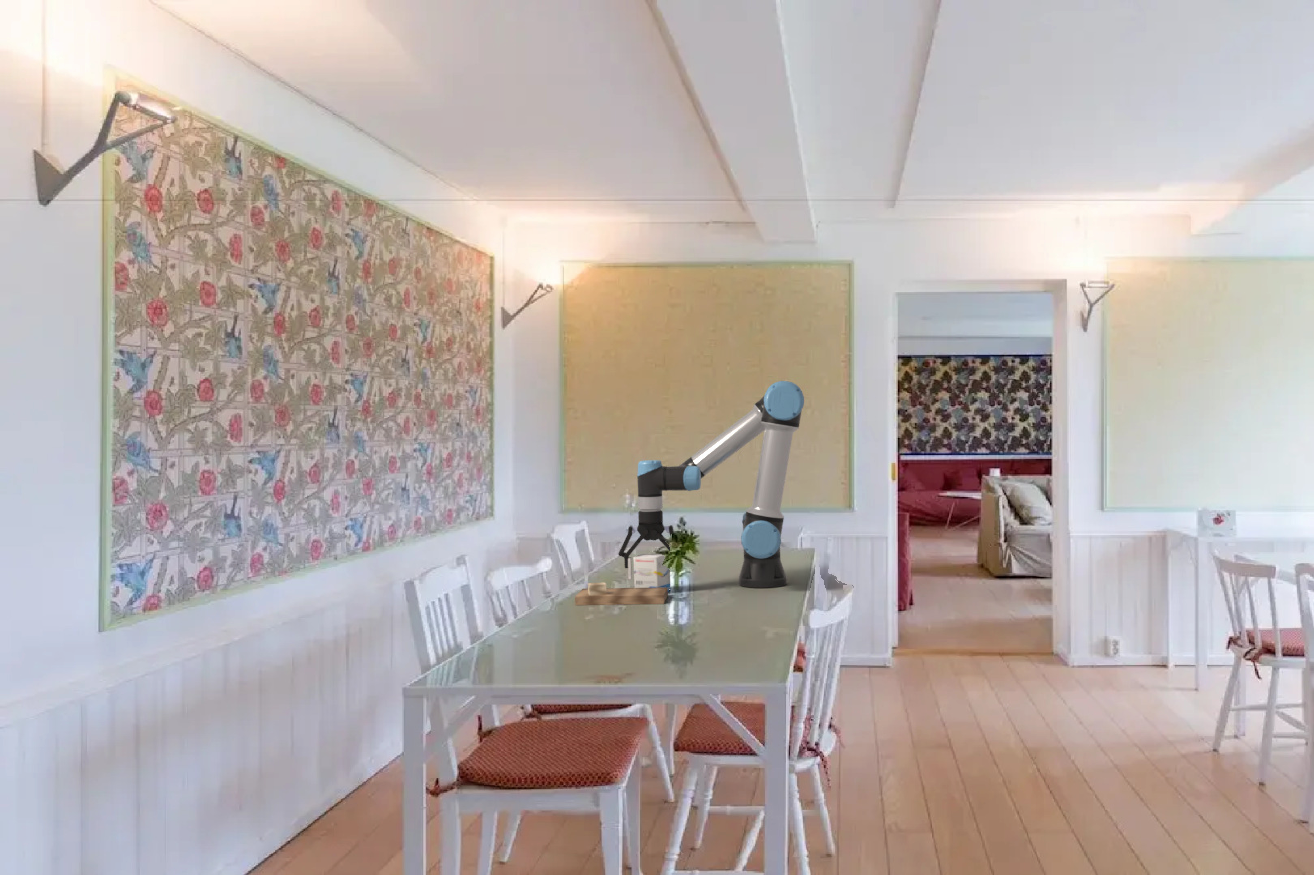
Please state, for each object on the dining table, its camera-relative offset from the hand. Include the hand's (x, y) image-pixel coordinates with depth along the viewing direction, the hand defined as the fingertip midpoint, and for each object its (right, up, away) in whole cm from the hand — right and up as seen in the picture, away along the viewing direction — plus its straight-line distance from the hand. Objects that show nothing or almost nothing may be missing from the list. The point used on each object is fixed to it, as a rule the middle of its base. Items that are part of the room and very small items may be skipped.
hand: (651, 578), depth 314 cm
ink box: (0, -5, +1) cm, 5 cm away
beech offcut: (-16, -3, -14) cm, 21 cm away
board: (-9, -5, -11) cm, 15 cm away
